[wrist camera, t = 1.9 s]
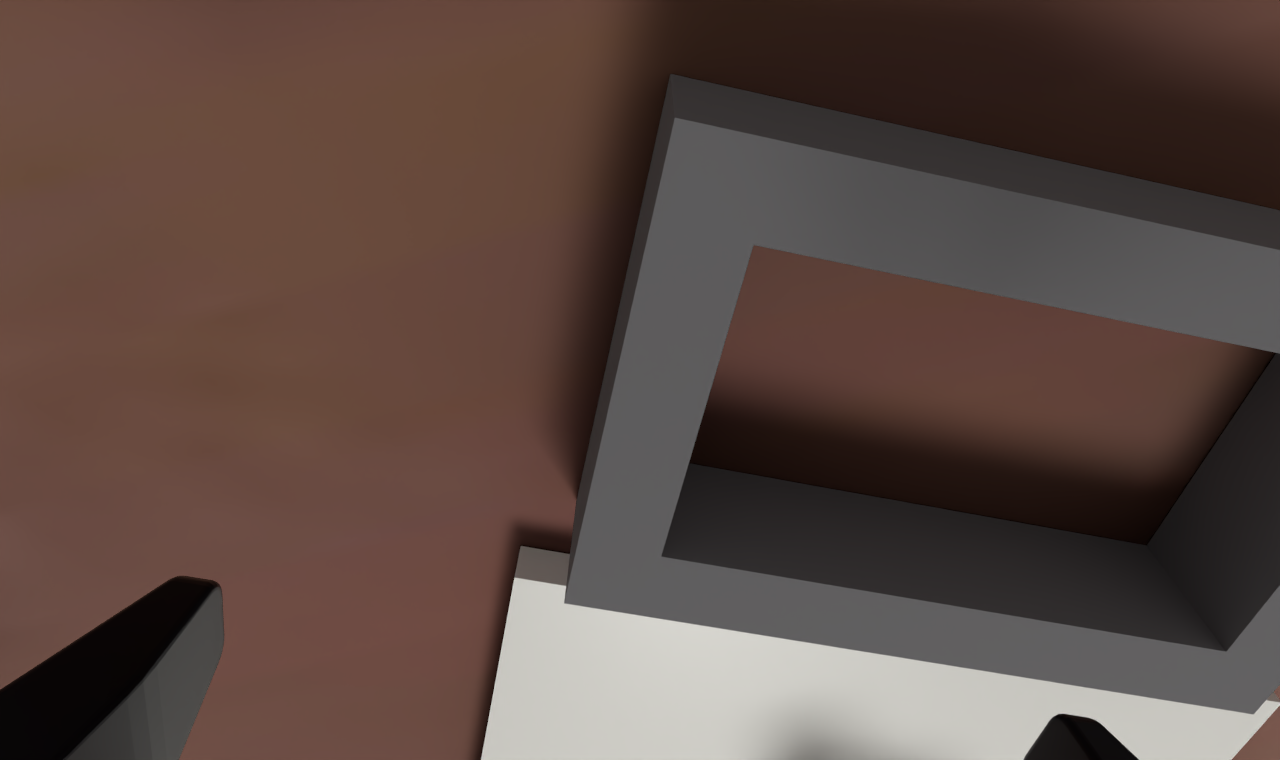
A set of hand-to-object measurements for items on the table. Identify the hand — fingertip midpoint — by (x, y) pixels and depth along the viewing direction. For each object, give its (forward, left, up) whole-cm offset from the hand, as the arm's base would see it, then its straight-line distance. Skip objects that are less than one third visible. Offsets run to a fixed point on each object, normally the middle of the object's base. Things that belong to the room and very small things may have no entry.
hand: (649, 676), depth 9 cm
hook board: (+7, -13, -8) cm, 17 cm away
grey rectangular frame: (+6, 0, -8) cm, 10 cm away
